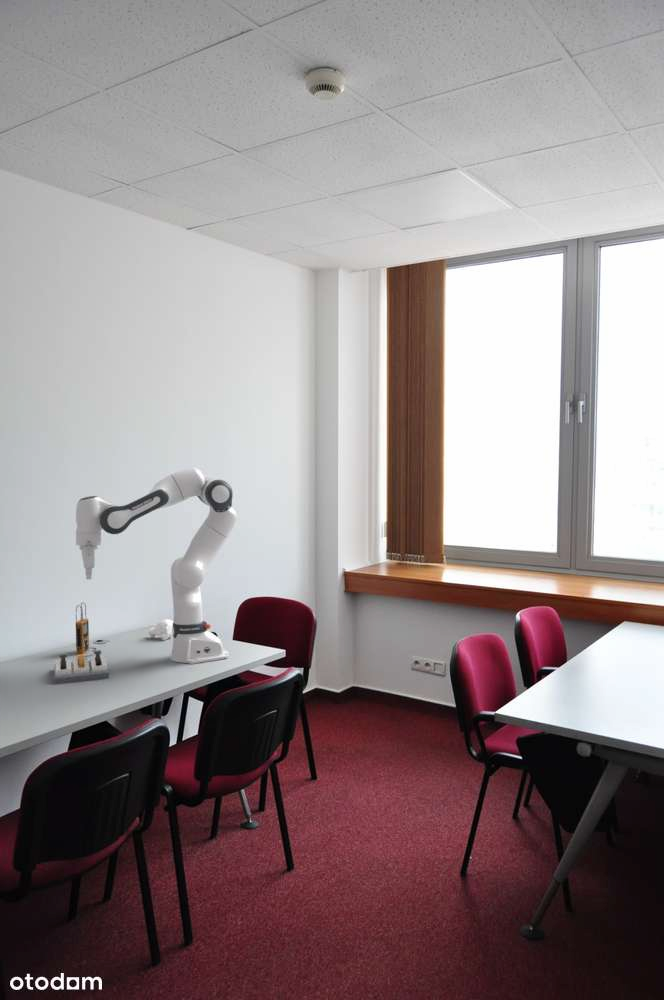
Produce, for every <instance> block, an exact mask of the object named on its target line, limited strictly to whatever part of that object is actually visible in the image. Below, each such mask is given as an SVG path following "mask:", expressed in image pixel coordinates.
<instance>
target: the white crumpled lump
mask: <svg viewBox="0 0 664 1000" xmlns="http://www.w3.org/2000/svg"><path fill="white" fill-rule="evenodd" d="M173 622H174V620H171V619H168V618H167V619H162V620H160V621H159V622H157V624H156V625H155V626H153V627H151V628H149V629H148V635H149V636H150V637H151V638H152V639H153V638H156V637H160V638H162V639H161V640H162V641H167V639H172V638H173V633H172V626H173ZM163 635H165V636H163Z"/></svg>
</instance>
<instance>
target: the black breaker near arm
mask: <svg viewBox="0 0 664 1000" xmlns="http://www.w3.org/2000/svg"><path fill="white" fill-rule="evenodd" d="M93 654H94V655H95V657H96V664H100V656H101V654H102V650H101V649H98V650H94V651H93Z"/></svg>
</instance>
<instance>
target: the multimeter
mask: <svg viewBox="0 0 664 1000" xmlns="http://www.w3.org/2000/svg"><path fill="white" fill-rule="evenodd" d="M82 604H84V606H85V609H84V613H85V614H84V613H83V605H82ZM78 607H80V619H79V620H78V619H77V618H78V617H77V615H75V646H76V647H75V648H76V649H75V650H76V655H80V654H84V658H87V657H92V656H94V655H95V654H94V653H90V654H87V655H85V653H87V652H89V651H90V631H89V629H90V628H89V627H90V625H89V619H88V618H84V615H85V617H87V606H86V603H85V602H81V603H80V605H79V604H78V605H77V606H76V607H75V612H78V611H77V609H78ZM83 614H84V615H83ZM92 651H93V652H94V651H97V648H96V647H93V649H92Z"/></svg>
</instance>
